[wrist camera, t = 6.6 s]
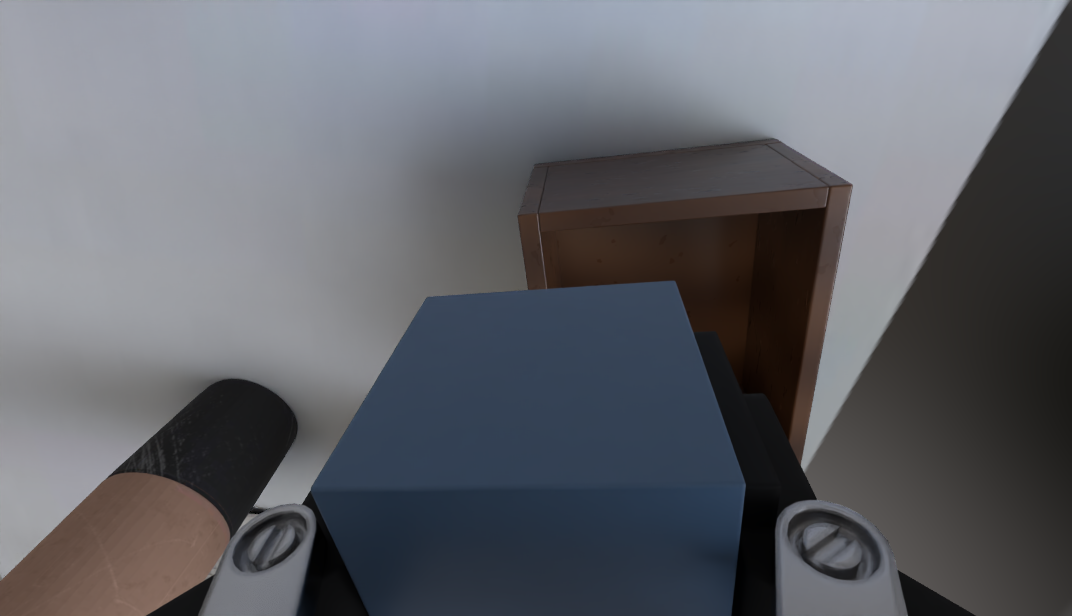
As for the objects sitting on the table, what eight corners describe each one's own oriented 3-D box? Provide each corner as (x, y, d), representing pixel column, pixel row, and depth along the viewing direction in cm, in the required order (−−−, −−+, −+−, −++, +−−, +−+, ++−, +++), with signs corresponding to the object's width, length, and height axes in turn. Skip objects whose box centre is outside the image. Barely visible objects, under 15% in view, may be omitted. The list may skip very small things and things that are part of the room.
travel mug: (202, 442, 38) (-111, 787, 21) (191, 364, 35) (-200, 706, 17) (301, 465, 39) (74, 822, 21) (302, 390, 35) (27, 751, 18)
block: (426, 295, 10) (307, 490, 6) (675, 279, 10) (747, 485, 5) (469, 471, 13) (408, 701, 8) (673, 467, 12) (720, 717, 8)
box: (534, 163, 26) (517, 215, 19) (776, 138, 25) (854, 184, 18) (562, 392, 33) (556, 489, 26) (750, 384, 32) (797, 484, 25)
